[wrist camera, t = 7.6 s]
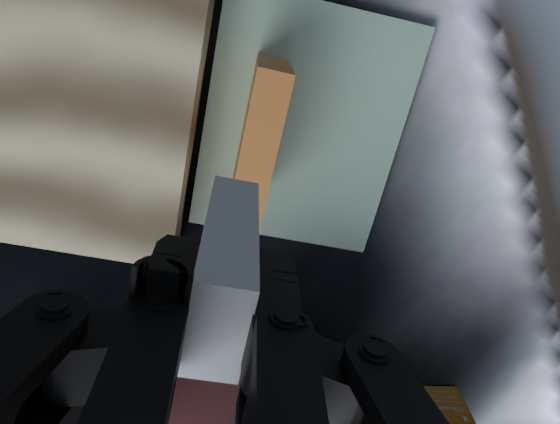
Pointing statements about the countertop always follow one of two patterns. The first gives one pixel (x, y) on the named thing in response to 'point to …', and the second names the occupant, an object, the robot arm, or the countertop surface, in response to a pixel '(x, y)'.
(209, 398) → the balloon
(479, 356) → the countertop surface
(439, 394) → the small box
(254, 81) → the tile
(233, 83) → the mat
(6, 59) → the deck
